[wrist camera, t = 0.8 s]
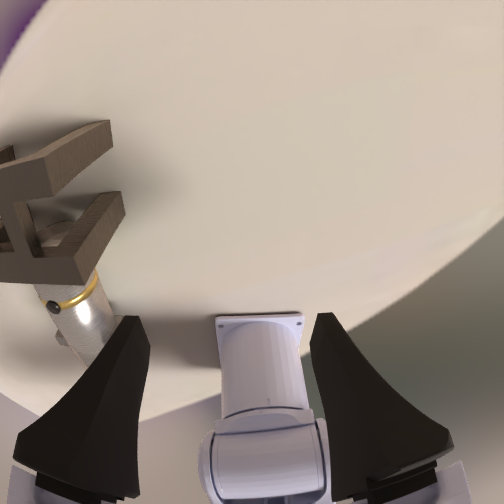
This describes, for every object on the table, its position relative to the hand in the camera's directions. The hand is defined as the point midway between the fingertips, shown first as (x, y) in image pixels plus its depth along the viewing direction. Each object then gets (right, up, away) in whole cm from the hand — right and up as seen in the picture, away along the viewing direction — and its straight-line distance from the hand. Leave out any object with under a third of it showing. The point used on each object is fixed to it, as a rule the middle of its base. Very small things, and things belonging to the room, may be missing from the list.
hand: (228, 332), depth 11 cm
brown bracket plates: (-13, +8, +5) cm, 17 cm away
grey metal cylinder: (-13, 0, +12) cm, 18 cm away
